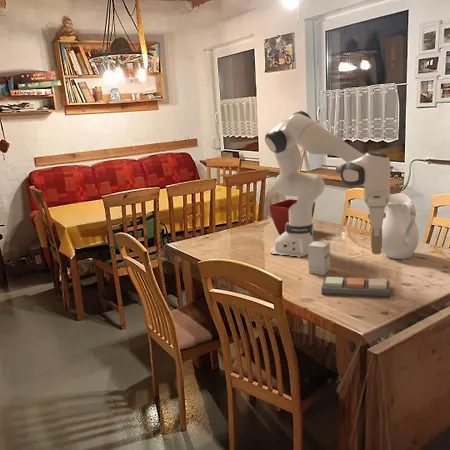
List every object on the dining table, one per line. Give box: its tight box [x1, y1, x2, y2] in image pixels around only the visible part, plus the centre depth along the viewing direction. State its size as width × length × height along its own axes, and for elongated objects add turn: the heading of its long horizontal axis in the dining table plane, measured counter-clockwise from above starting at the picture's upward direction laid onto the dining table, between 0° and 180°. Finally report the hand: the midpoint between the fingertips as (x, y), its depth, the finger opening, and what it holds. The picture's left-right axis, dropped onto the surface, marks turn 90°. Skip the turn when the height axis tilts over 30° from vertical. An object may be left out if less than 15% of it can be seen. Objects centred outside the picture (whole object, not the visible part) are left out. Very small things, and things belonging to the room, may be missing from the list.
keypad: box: [320, 277, 391, 299], centre depth 178 cm, size 25×10×3 cm, turn 72°
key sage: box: [325, 276, 344, 287], centre depth 180 cm, size 6×6×2 cm
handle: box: [367, 212, 386, 255], centre depth 170 cm, size 5×6×15 cm
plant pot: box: [268, 198, 316, 234], centre depth 262 cm, size 19×19×17 cm
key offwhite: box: [368, 278, 387, 289], centre depth 175 cm, size 6×6×2 cm
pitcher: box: [381, 192, 420, 260], centre depth 206 cm, size 24×17×28 cm
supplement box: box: [307, 240, 331, 276], centre depth 200 cm, size 7×7×13 cm
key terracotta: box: [346, 277, 365, 288], centre depth 177 cm, size 6×6×2 cm
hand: (376, 233), depth 170 cm, fingers closed on handle, 4 cm apart
